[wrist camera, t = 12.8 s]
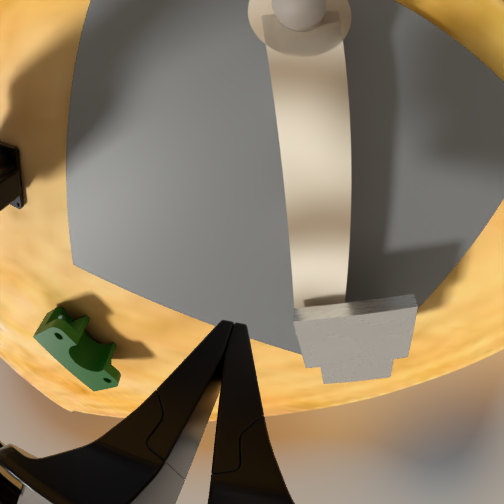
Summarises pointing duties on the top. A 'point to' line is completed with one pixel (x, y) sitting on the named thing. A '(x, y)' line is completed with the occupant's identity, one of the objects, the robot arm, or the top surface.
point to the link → (312, 137)
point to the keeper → (356, 337)
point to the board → (269, 158)
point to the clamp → (78, 349)
